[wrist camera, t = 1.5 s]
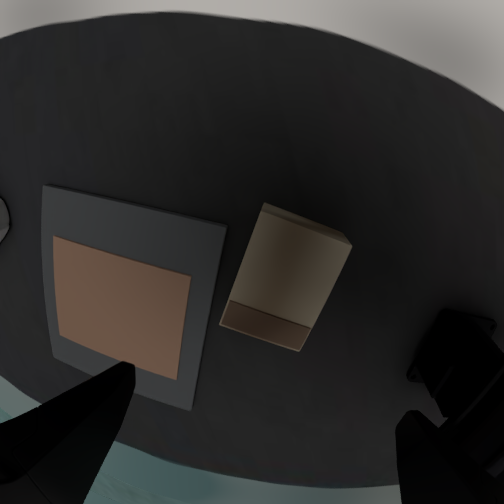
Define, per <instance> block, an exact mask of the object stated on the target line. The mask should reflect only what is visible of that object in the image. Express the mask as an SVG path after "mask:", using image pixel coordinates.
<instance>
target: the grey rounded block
mask: <svg viewBox="0 0 504 504" xmlns="http://www.w3.org/2000/svg"><path fill="white" fill-rule="evenodd" d="M8 229H9V214H8V210H7V208H6V205H5V203H4V202H3V200H2V199H1V198H0V242H1V241H2V239H3V238H4V236H5V235H6V233H7V231H8Z"/></svg>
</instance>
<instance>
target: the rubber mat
mask: <svg viewBox="0 0 504 504" xmlns="http://www.w3.org/2000/svg"><path fill="white" fill-rule="evenodd" d="M227 228H228V225H225V224H221V223H216V222H212V221H208V220H204V219H200V218H196V217H192V216H187V215H183V214H179V213H175V212H171V211H166V210H162V209H158V208H153V207H149V206H145V205H140V204H136V203H132V202H127V201H123V200H118V199H114V198H110V197H105V196H101V195H96V194H92V193H87V192H82V191H78V190H73V189H69V188H64V187H59V186H55V185H50V184H46V185H43V193H42V220H41V241H42V268H43V283H44V294H45V304H46V312H47V320H48V327H49V334H50V340H51V345H52V351H53V356H54V358H56V359H58V360H60V361H62V362H64V363H66V364H69V365H71V366H73V367H75V368H77V369H79V370H81V371H83V372H86V373H88V374H90V375H92V376H95V375H97V374H99V373H101V372H103V371H104V370H106V369H108V368H110V367H112V366H113V365H115V364H117V363H119V362H121V361H126V362H129V363H132V364H134V365H135V369H136V386H135V390H134V393H137V394H140V395H143V396H145V397H148V398H151V399H154V400H157V401H160V402H163V403H166V404H169V405H172V406H175V407H179V408H182V409H185V410H189V411H191V410H192V407H193V402H194V397H195V391H196V385H197V380H198V374H199V369H200V363H201V358H202V352H203V347H204V341H205V336H206V331H207V326H208V321H209V315H210V310H211V305H212V300H213V295H214V290H215V285H216V280H217V275H218V270H219V266H220V261H221V256H222V251H223V247H224V242H225V237H226V232H227Z"/></svg>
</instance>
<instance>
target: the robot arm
mask: <svg viewBox="0 0 504 504" xmlns="http://www.w3.org/2000/svg"><path fill="white" fill-rule="evenodd" d="M445 315H447V316H446V317H445ZM444 317H445V318H444ZM496 327H497V323H496V322H495V321H494V320H493V319H489V318H484V317H480V316H476V315H471V314H467V313H463V312H459V311H454V310H450V309H444V310H442V311H441V312H440V314H439V316H438V318H437V320H436V322H435V324H434V326H433V328H432V330H431V332H430V334H429V336H428V338H427V339H426V341H425V343H424V345H423V347H422V349H421V350H420V352H419V354H418V356H417V358H416V359H415V361H414V363H413V364H412V366H411V368H410V369H409V371H408V373H407V379H408V380H409V381H410V382H420V383H425V385H426V387H427V389H428V391H429V393H430V395H431V397H432V398H434V399H435V401H436V403H437V405H438V407H439V409H440V411H441V413H442V415H443V417H449V418H448V419H447V420H446V421H445V422H444V423H443V424H442V425H441V426H440V427H439V428H438V427H437V426H435V425H434V424H433V423H432V422H431V421H430V420H429V419H428V418H427V417H425V416H424V415H423V414H422V413H421V412H420V411H418V410H410V411H408V412H406V414H405V415H404V416H403V418H402V419H401V420H400V422H399V423H398V424H397V426H396V430H395V435H396V453H397V470H398V477H399V485H400V493H401V502H402V504H504V353H503V352H502V351H501V350H500V348H499V347H498V346H497V345H496V344H495V343H494V342H493V340H492V339H491V336H492V334H493V333H494V331H495V329H496ZM412 375H413V376H412ZM135 386H136V369H135V365H134V364H132V363H129V362H126V361H121V362H119V363H117V364H115V365H113V366H112V367H110V368H108V369H106V370H104V371H103V372H101V373H99V374H97V375H95V376H94V377H92V378H90V379H88V380H86V381H84V382H83V383H81V384H79V385H77V386H75V387H73V388H72V389H70V390H68V391H66V392H64V393H62V394H60V395H59V396H57V397H55V398H53V399H51V400H49V401H47V402H45V403H43V404H42V405H40V406H39V407H36V408H34V409H32V410H30V411H28V412H26V413H24V414H22V415H20V416H18V417H15V418H13V419H10V420H8V421H5V422H3V423H0V504H83V503H84V500H85V498H86V496H87V494H88V492H89V490H90V488H91V486H92V484H93V482H94V480H95V478H96V476H97V474H98V472H99V470H100V467H101V466H102V464H103V462H104V459H105V457H106V456H107V454H108V452H109V450H110V448H111V446H112V444H113V442H114V440H115V438H116V436H117V434H118V432H119V430H120V428H121V425H122V422H123V420H124V417H125V414H126V411H127V409H128V406H129V403H130V400H131V398H132V395H133V392H134V390H135Z"/></svg>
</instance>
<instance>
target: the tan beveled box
mask: <svg viewBox="0 0 504 504" xmlns="http://www.w3.org/2000/svg"><path fill="white" fill-rule="evenodd" d="M351 248H352V245H351V244H350V242H349V241H348V239H347V238H346V237H345V235H344V234H343V233H342V232H339V231H337V230H335V229H332V228H330V227H327V226H325V225H322V224H319V223H317V222H314V221H312V220H309V219H307V218H304V217H302V216H299V215H296V214H294V213H291V212H289V211H286V210H283V209H281V208H278V207H275V206H273V205H270V204H267V203H265V202H264V204H263V206H262V209H261V212H260V214H259V217H258V220H257V223H256V225H255V228H254V231H253V233H252V236H251V239H250V241H249V244H248V247H247V250H246V252H245V255H244V258H243V260H242V263H241V266H240V269H239V271H238V274H237V277H236V280H235V282H234V285H233V288H232V290H231V293H230V296H229V299H228V301H227V304H226V307H225V310H224V312H223V315H222V318H221V321H220V323H219V325H221V326H224V327H227V328H229V329H232V330H235V331H238V332H241V333H243V334H246V335H249V336H252V337H255V338H258V339H261V340H264V341H267V342H270V343H273V344H276V345H279V346H282V347H285V348H288V349H292V350H295V351H298V352H299V351H300V350H301V348H302V346H303V344H304V342H305V340H306V339H307V337H308V335H309V333H310V331H311V329H312V327H313V326H314V324H315V322H316V320H317V318H318V316H319V314H320V312H321V310H322V308H323V306H324V304H325V302H326V300H327V298H328V296H329V294H330V292H331V290H332V288H333V286H334V284H335V282H336V280H337V278H338V276H339V274H340V272H341V270H342V268H343V266H344V263H345V261H346V259H347V257H348V255H349V253H350V251H351Z"/></svg>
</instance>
